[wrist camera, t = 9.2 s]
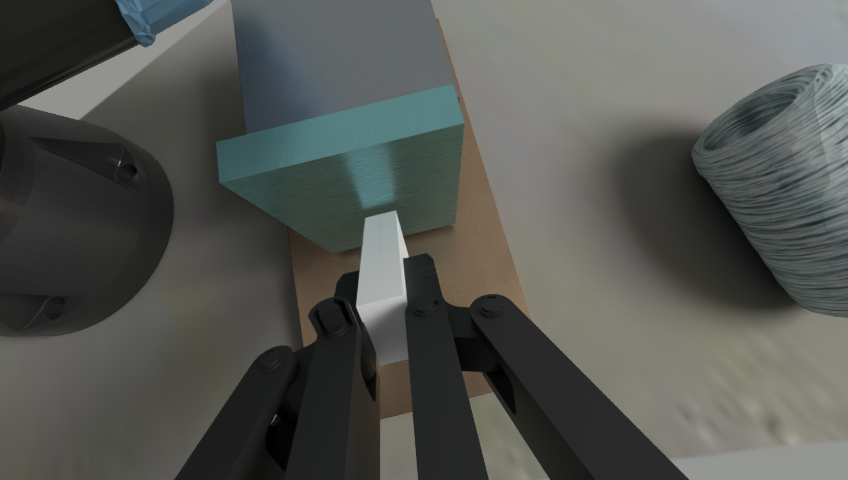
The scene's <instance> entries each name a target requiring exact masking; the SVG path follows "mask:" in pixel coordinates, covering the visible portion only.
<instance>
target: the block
mask: <svg viewBox="0 0 848 480" xmlns="http://www.w3.org/2000/svg"><path fill="white" fill-rule="evenodd" d="M464 125H465V122H464V119H463V116H462V113H461V109H460V106H459V103H458V99H457V96H456V93H455V89H454V86H453V84H450V85H446V86H442V87H438V88H434V89H430V90H426V91H422V92H417V93H413V94H409V95H405V96H401V97H397V98H393V99H389V100H385V101H381V102H377V103H373V104H369V105H365V106H360V107H356V108H352V109H348V110H344V111H340V112H336V113H332V114H328V115H324V116H320V117H316V118H312V119H307V120H303V121H299V122H295V123H291V124H287V125H283V126H279V127H275V128H271V129H267V130H263V131H259V132H255V133H250V134H246V135H242V136H238V137H234V138H230V139H226V140H222V141H218V142H216V148H217V160H218V171H219V183H220V184H222V185H223V186H225V187H227V188H228V189H230V190H231V191H233V192H235V193H236V194H238V195H239V196H241V197H243V198H244V199H246V200H247V201H249V202H251V203H252V204H254V205H255V206H257V207H258V208H260V209H262V210H263V211H265V212H266V213H268V214H270V215H271V216H273V217H274V218H276V219H278V220H279V221H281V222H282V223H284V224H286V225H287V226H289V227H290V228H292V229H294V230H295V231H297V232H298V233H300V234H302V235H303V236H305V237H306V238H308V239H309V240H311V241H313V242H314V243H316V244H317V245H319V246H321V247H322V248H324V249H325V250H327V251H329V252H330V253H332V254H333V253H337V252H341V251H345V250H349V249H353V248H357V247H361V246H362V245H363V235H364V226H365V218H367V217H371V216H375V215H379V214H383V213H387V212H392V211H396V213H397V217H398V220H399V224H400V227H401V231H402V235H403V236H406V235H411V234H415V233H419V232H423V231H427V230H431V229H435V228H439V227H443V226H447V225H452V224H455V222H456V211H457V201H458V190H459V179H460V168H461V157H462V146H463V135H464Z"/></svg>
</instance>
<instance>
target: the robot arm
mask: <svg viewBox="0 0 848 480" xmlns="http://www.w3.org/2000/svg"><path fill="white" fill-rule="evenodd" d="M212 1H213V0H0V336H12V337H20V336H54V335H62V334H67V333H72V332H75V331H79V330H82V329H84V328H87V327H89V326H92V325H94V324H96V323H98V322H100V321H102V320H103V319H105V318H107V317H108V316H110V315H112V314H113V313H114V312H116V311H117V310H119V309H120V308H121V307H122V306H124V305H125V304H126V303H127V302H128V301H129V300H131V299H132V298H133V297H134V296H135V295H136V294H137V293H138V291H139V290H140V289H141V288H142V287H143V286H144V284H145V283H146V282H147V281H148V279H149V278H150V276H151V275H152V274H153V272H154V270H155V269H156V267H157V265H158V264H159V262H160V260H161V258H162V256H163V254H164V251H165V249H166V246H167V243H168V240H169V237H170V233H171V229H172V223H173V212H174V211H173V196H172V191H171V187H170V183H169V181H168V178H167V176H166V174H165V172H164V170H163V168H162V167H161V166H160V164H159V163H158V162H157V160H156V159H155V158H154V157H153V156H152V155H151V154H150V153H148V152H147V151H146V150H144V149H143V148H141V147H140V146H138V145H136V144H134V143H133V142H131V141H129V140H127V139H126V138H124V137H122V136H121V135H119V134H117V133H115V132H113V131H111V130H108V129H106V128H103V127H101V126H98V125H94V124H91V123H87V122H83V121H79V120H75V119H71V118H67V117H64V116H60V115H56V114H52V113H48V112H44V111H40V110H36V109H33V108H29V107H25V106H21V105H17V104H18V103H20V102H22V101H24V100H26V99H28V98H30V97H32V96H34V95H36V94H38V93H40V92H42V91H44V90H47V89H49V88H51V87H53V86H55V85H57V84H59V83H61V82H63V81H65V80H67V79H69V78H71V77H73V76H75V75H77V74H79V73H82V72H83V71H86V70H88V69H89V68H91V67H94V66H96V65H98V64H100V63H102V62H104V61H106V60H108V59H110V58H112V57H115V56H117V55H119V54H121V53H123V52H125V51H127V50H129V49H131V48H133V47H135V46H137V45H139V44H140V45H142V46H143V47H148V46H150V45H152V44H153V43H154V41H155V37H156V35H157V34H158V33H160V32H162V31H164V30H165V29H167V28H169V27H171V26H172V25H174V24H176V23H178V22H179V21H181V20H183V19H185V18H186V17H188V16H190V15H191V14H194V13H195V12H197V11H199V10H201V9H202V8H204V7H206V6H207V5H209V4H210V3H211V2H212ZM308 318H309V320H310V321H311V323H312V325H313V327H314V329H315V331H316V333H317V338H316V341H315V342H313V343H312V344H310V345H308V346H306V347H304V348H302V349H300V350H298V351H296V352H293V350H292V349H291V348H290V347H288V346H283V345H281V346H277V347H273V348H271V349H269V350H267V351H265V352H264V353H262V354H261V355H260V356H258V358H257V359H256V360H255V361H254V362H253V363H252V365H251V366H250V368H249V369H248V371H247V372H246V374H245V375H244V377H243V378H242V380H241V381H240V383H239V384H238V386H237V387H236V389H235V390H234V392H233V393H232V395H231V396H230V398H229V399H228V401H227V402H226V403H225V405H224V406H223V408H222V409H221V411H220V412H219V414H218V415H217V417H216V418H215V420H214V421H213V423H212V424H211V426H210V427H209V429H208V430H207V432H206V433H205V435H204V436H203V438H202V439H201V441H200V442H199V444H198V445H197V447H196V448H195V450H194V451H193V453H192V454H191V456H190V457H189V459H188V460H187V462H186V463H185V465H184V466H183V468H182V469H181V471H180V472H179V474H178V475H177V476H176V478H175V479H174V480H380V376H379V373H378V370H377V368H376V357H377V359H378V362H379V364H380V366H382V365H386V364H390V363H394V362H399V361H403V360H407V359H408V361H409V373H410V385H411V397H412V410H413V422H414V434H415V446H416V458H417V470H418V480H489V479H488V475H487V471H486V466H485V462H484V458H483V454H482V450H481V446H480V442H479V438H478V434H477V430H476V426H475V422H474V418H473V414H472V410H471V406H470V402H469V398H468V394H467V390H466V386H465V382H464V378H463V374H462V371H469V372H482V374H483V377H484V378H485V380H486V381H487V383H488V384H489V386H490V387H491V389H492V390H493V392H494V394H495V395H496V397H497V398H498V400H499V401H500V403H501V404H502V406H503V407H504V409H505V411H506V412H507V414H508V415H509V417H510V418H511V420H512V421H513V423H514V424H515V426H516V428H517V429H518V431H519V432H520V434H521V435H522V437H523V438H524V440H525V441H526V443H527V445H528V446H529V448H530V449H531V451H532V452H533V454H534V455H535V457H536V458H537V460H538V462H539V463H540V465H541V466H542V468H543V469H544V471H545V472H546V474H547V475H548V477H549V479H550V480H689V479H688V478H687V477H686V476H685V475H684V474H683V473H682V472H681V471H680V470H679V469H678V468H677V467H676V466H675V465H674V464H673V463H672V462H671V461H670V460H669V459H668V458H667V457H666V456H665V455H664V454H663V453H662V452H661V451H660V450H659V449H658V448H657V447H656V446H655V445H654V444H653V443H652V442H651V441H650V440H649V439H648V438H647V437H646V436H645V435H644V434H643V433H642V432H641V431H640V430H639V429H638V428H637V427H636V426H635V425H634V424H633V423H632V422H631V421H630V420H629V419H628V418H627V417H626V416H625V415H624V414H623V413H622V412H621V411H620V410H619V409H618V408H617V407H616V406H615V405H614V404H613V403H612V402H611V401H610V400H609V399H608V398H607V397H606V396H605V395H604V394H603V393H602V392H601V391H600V390H599V389H598V388H597V387H596V386H595V385H594V384H593V382H592V381H591V380H590V379H589V378H588V377H587V376H586V375H585V374H584V373H583V372H582V371H581V370H580V369H579V368H578V367H577V366H576V365H575V364H574V363H573V362H572V361H571V360H570V359H569V358H568V357H567V356H566V355H565V354H564V353H563V352H562V351H561V350H560V349H559V348H558V347H557V346H556V345H555V344H554V343H553V342H552V341H551V340H550V339H549V338H548V337H547V336H546V335H545V334H544V333H543V332H542V331H541V330H540V329H539V328H538V327H537V326H536V325H535V324H534V323H533V322H532V321H531V320H530V319H529V318H528V317H527V316H526V315H525V314H524V313H523V312H522V311H521V310H520V309H519V308H518V307H517V306H516V305H515V304H514V303H513V302H512V301H511V300H510V299H508V298H507V297H505V296H503V295H499V294H487V295H483V296H480V297H479V298H477V299H475V300H474V301H473V302H472V304H471V305H470V307H458V306H454V305H451V304H449V303H447V302H446V301H445V300H444V298H443V295H442V292H441V288H440V284H439V280H438V276H437V272H436V268H435V264H434V260H433V258H432V257H431V256H430V255H428V254H427V253H424V254H420V255H416V256H412V257H409V256H408V252H407V249H406V245H405V242H404V238H403V235H402V231H401V227H400V224H399V220H398V217H397V213H396V211H392V212H387V213H383V214H379V215H375V216H371V217H367V218H365V226H364V235H363V245H362V254H361V264H360V270H358V271H354V272H349V273H345V274H343V275H342V276H341V277H340V279H339V280H338V281H337V283H336V288H335V293H334V297H330V298H328V299H325V300H323V301H321V302H319V303H318V304H316V305H315V306H314V307H313V308H312V309H311V310H310V312H309V314H308ZM275 414H276V415H277V416H276V418H275V420H274V421H273V423H272V424H271V422H272V420H273V418H274V416H275Z"/></svg>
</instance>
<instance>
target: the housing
mask: <svg viewBox="0 0 848 480" xmlns="http://www.w3.org/2000/svg"><path fill="white" fill-rule="evenodd" d="M231 3H232V11H233V20H234V29H235V38H236V47H237V56H238V64H239V73H240V82H241V91H242V100H243V109H244V117H245V126H246V134H250V133H255V132H259V131H263V130H267V129H271V128H275V127H279V126H283V125H287V124H291V123H295V122H299V121H303V120H307V119H312V118H316V117H320V116H324V115H328V114H332V113H336V112H340V111H344V110H348V109H352V108H356V107H360V106H365V105H369V104H373V103H377V102H381V101H385V100H389V99H393V98H397V97H401V96H405V95H409V94H413V93H417V92H422V91H426V90H430V89H434V88H438V87H442V86H446V85H450V84H453V86H454V89H455V93H456V96H457V99H458V103H459V106H460V109H461V113H462V116H463V119H464V122H465V125H464V135H463V146H462V157H461V168H460V179H459V190H458V201H457V211H456V222H455V224H452V225H447V226H443V227H439V228H435V229H431V230H427V231H423V232H419V233H415V234H411V235H406V236H403V238H404V242H405V245H406V249H407V252H408V256H409V257H412V256H416V255H420V254H424V253H427V254H428V255H430V256H431V257H432V258H433V260H434V264H435V268H436V272H437V276H438V280H439V284H440V288H441V292H442V295H443V298H444V300H445V301H446V302H447V303H449V304H451V305H454V306H458V307H470V305H471V304H472V302H473V301H474V300H475V299H477V298H479V297H480V296H483V295H487V294H499V295H503V296H505V297H507V298H508V299H510V300H511V301H512V302H513V303H514V304H515V305H516V306H517V307H518V308H519V309H520V310H521V311H522V312H523V313H524V314H525V315H526V316H527V317H528V318H529V319H530V315H529V312H528V309H527V306H526V302H525V299H524V296H523V293H522V289H521V286H520V283H519V280H518V276H517V273H516V270H515V267H514V263H513V260H512V257H511V254H510V250H509V247H508V244H507V240H506V237H505V234H504V231H503V227H502V224H501V221H500V218H499V214H498V211H497V208H496V205H495V201H494V198H493V195H492V192H491V188H490V185H489V182H488V179H487V175H486V172H485V169H484V166H483V162H482V159H481V156H480V153H479V149H478V146H477V143H476V140H475V136H474V133H473V130H472V127H471V123H470V120H469V117H468V114H467V110H466V107H465V104H464V101H463V97H462V94H461V91H460V88H459V84H458V81H457V78H456V75H455V71H454V68H453V65H452V62H451V58H450V55H449V52H448V48H447V45H446V42H445V39H444V35H443V32H442V29H441V26H440V22H439V19H438V18H437V19H436V17H435V14H434V11H433V8H432V4H431V1H430V0H231ZM287 229H288V237H289V244H290V251H291V258H292V266H293V273H294V280H295V288H296V295H297V302H298V309H299V317H300V324H301V331H302V339H303V346H304V347H306V346H308V345H310V344H312V343H313V342H315V341H316V338H317V333H316V331H315V329H314V327H313V325H312V323H311V321H310V320H309V318H308V314H309V312H310V310H311V309H312V308H313V307H314V306H315V305H316V304H318V303H319V302H321V301H323V300H325V299H328V298H330V297H334V293H335V288H336V283H337V281H338V280H339V279H340V277H341V276H342V275H343V274H345V273H349V272H354V271H358V270H360V264H361V254H362V246H361V247H357V248H353V249H349V250H345V251H341V252H337V253H333V254H332V253H330V252H329V251H327V250H325V249H324V248H322V247H321V246H319V245H317V244H316V243H314V242H313V241H311V240H309V239H308V238H306V237H305V236H303V235H302V234H300V233H298V232H297V231H295V230H294V229H292V228H290V227H289V226H287ZM530 320H531V319H530ZM376 368H377V370H378V373H379V376H380V419H384V418H388V417H392V416H397V415H401V414H405V413H409V412H413V410H412V397H411V385H410V373H409V361H408V359H407V360H403V361H399V362H394V363H390V364H386V365H382V366H380V364H379V362H378V359H377V357H376ZM462 374H463V378H464V382H465V386H466V390H467V394H468V398H471V397H475V396H479V395H483V394H487V393H492V392H493V390H492V389H491V387H490V386H489V384H488V383H487V381H486V380H485V378H484V377H483V374H482V372H469V371H462Z"/></svg>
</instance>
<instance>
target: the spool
mask: <svg viewBox="0 0 848 480" xmlns="http://www.w3.org/2000/svg"><path fill="white" fill-rule="evenodd" d="M691 155H692V158H693V161H694V164H695V166H696V169H697V171H698V173H699V174H700V175H701V176H703V177H704V178H705V179H706V180H707V181H708V183H709V184H710V186H711V187H712V189H713V191H714V192H715V193H716V195H717V196H718V197H719V198H720V199H721V201H722V202H723V204H724V205H725V207H726V208H727V210H728V212H729V213H730V214H731V215H732V216H733V218H734V219H735V220H736V222H737V223H738V225H739V226H740V227H741V229H742V231H743V232H744V234H745V236H746V237H747V239H748V240H749V242H750V243H751V245H752V246H753V247H754V248H755V249H756V251H757V252H758V253H759V255H760V256H761V258H762V259H763V261H764V263H765V264H766V266H767V267H768V268H769V269H770V270H771V271H772V273H773V275H774V278H775V279H776V280H777V282H778V283H779V284H780V285H781V286H782V287H783V288H784V289H785V290H786V292H787V293H788V294H789V296H790V297H791V298H792V299H793V300H795V301H796V302H797V303H798V304H799V305H800V306H801V307H803V308H805V309H807V310H809V311H811V312H815V313H820V314H825V315H830V316H835V317H846V318H848V65H843V64H833V63H826V64H821V65H816V66H811V67H806V68H804V69H801V70H799V71H796V72H794V73H791V74H789V75H786V76H784V77H782V78H780V79H778V80H776V81H773V82H771V83H769V84H767V85H766V86H764V87H762V88H760V89H758V90H757V91H755V92H753V93H752V94H750V95H749V96H747V97H745V98H743V99H742V100H740V101H739V102H737V103H736V104H735V105H733V106H732V107H731V108H729V109H728V110H727V111H726V112H724V113H723V114H722V115H720V116H719V117H718V118H716V119H715V120H714V121H713V122H712V123H711V124H710V125H709V126H708V127H707V128H706V129H705V130H704V132H703V133H702V135H701V136H700V137H699V139H698V140H697V142H696V143H695V145H694V147H693V150H692V153H691Z"/></svg>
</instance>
